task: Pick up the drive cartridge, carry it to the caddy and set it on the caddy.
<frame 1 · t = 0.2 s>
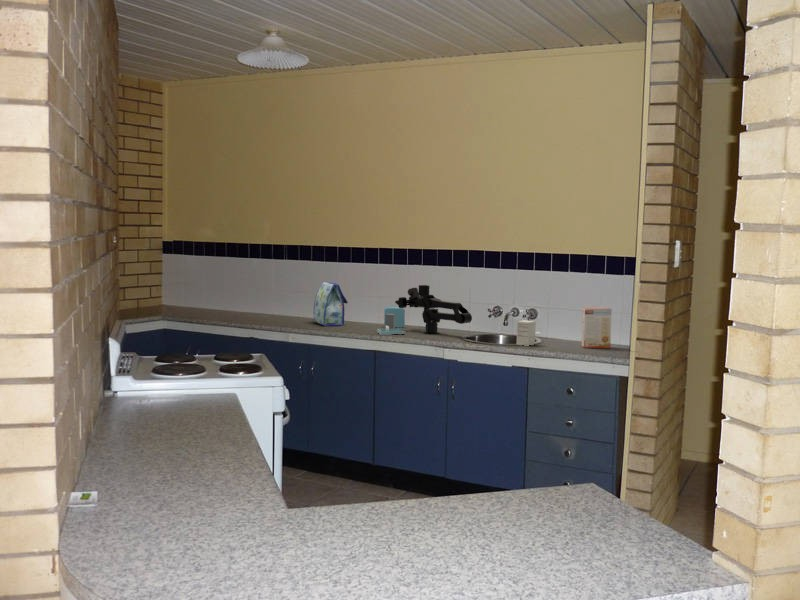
hand: (400, 301, 475), 17 cm above the counter, tool horizontal, fingers open, 9 cm apart
light blue upright piece: (394, 327, 483), on the counter
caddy: (390, 333, 452), on the counter
drive cartridge: (390, 331, 464), on the counter
cracker box: (595, 347, 413), on the counter
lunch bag: (329, 324, 493), on the counter
white drawer cabinet: (525, 345, 419), on the counter
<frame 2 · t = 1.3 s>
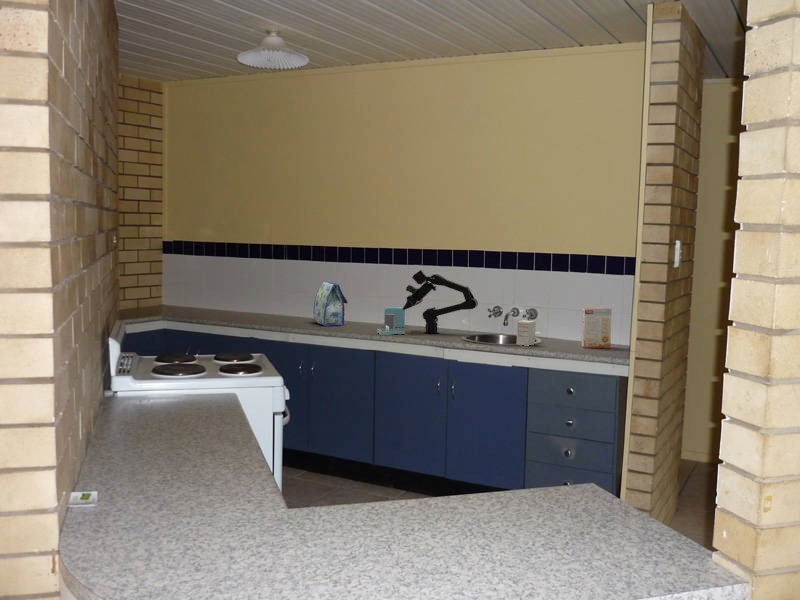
hand: (404, 308, 461), 13 cm above the counter, tool tilted 45°, fingers open, 9 cm apart
nothing on the counter moved.
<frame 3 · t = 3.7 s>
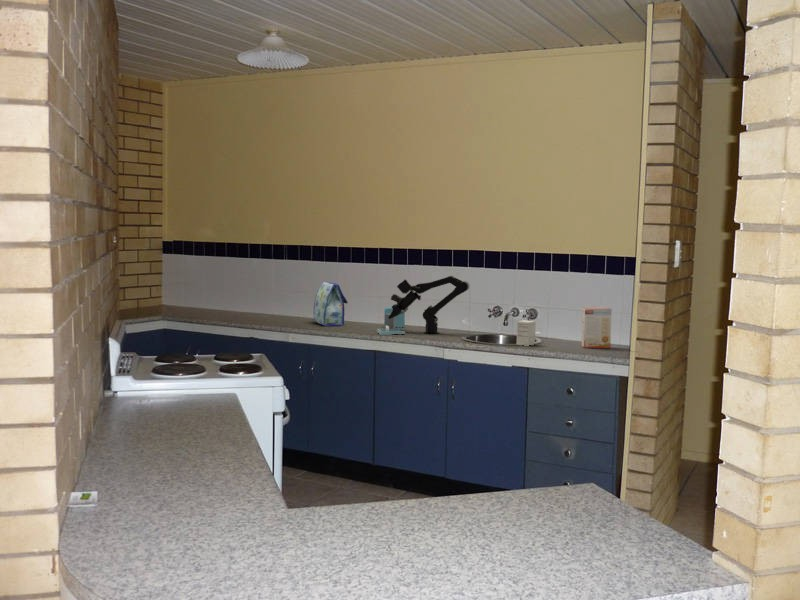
hand: (389, 317, 464), 8 cm above the counter, tool tilted 45°, fingers closed on drive cartridge, 5 cm apart
drive cartridge: (390, 331, 464), on the counter, touching gripper
everything else where it was.
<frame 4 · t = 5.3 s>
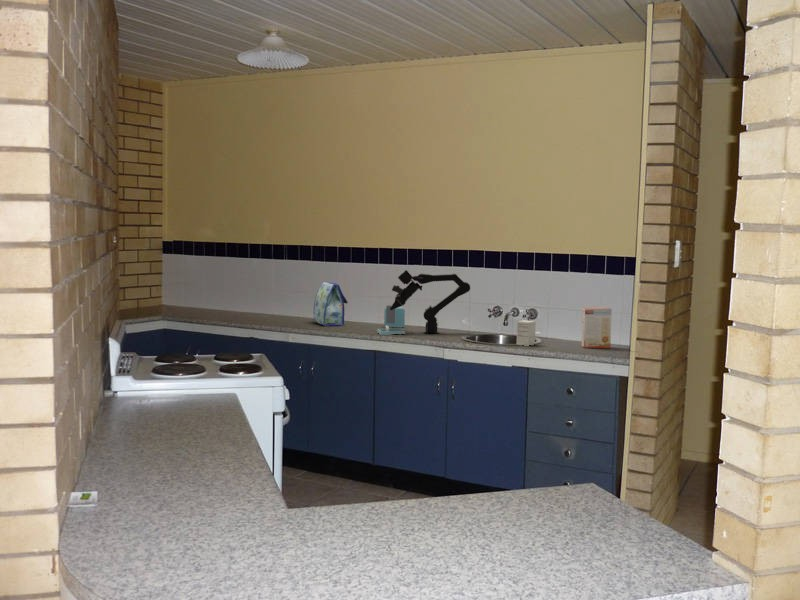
hand: (390, 309, 458), 13 cm above the counter, tool tilted 45°, fingers closed on drive cartridge, 5 cm apart
drive cartridge: (390, 322, 459), point 6 cm above the counter, touching gripper
everything else where it was.
when the fingers open (10 cm above the counter, at t = 7.0 s): drive cartridge drops 1 cm, resting on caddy.
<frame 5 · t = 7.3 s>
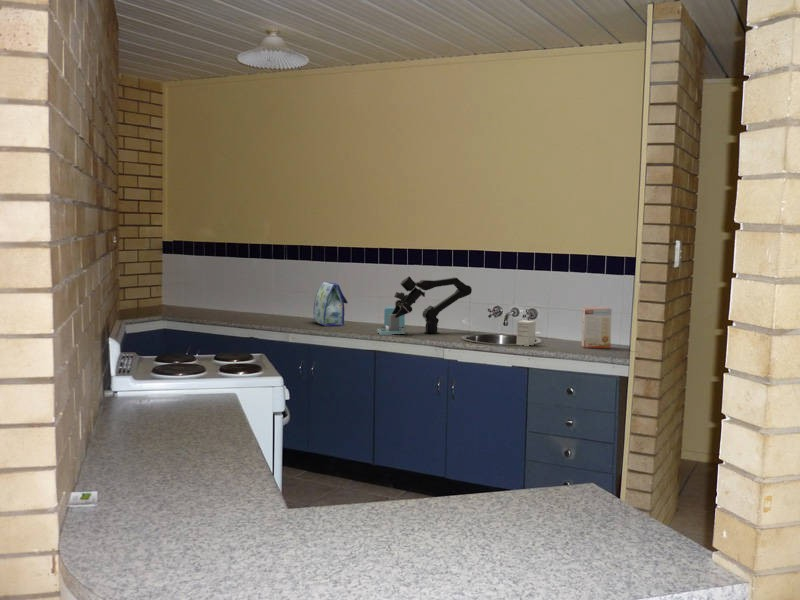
hand: (393, 316, 452), 10 cm above the counter, tool tilted 45°, fingers open, 9 cm apart
drive cartridge: (393, 332, 453), point 1 cm above the counter, touching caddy
everything else where it was.
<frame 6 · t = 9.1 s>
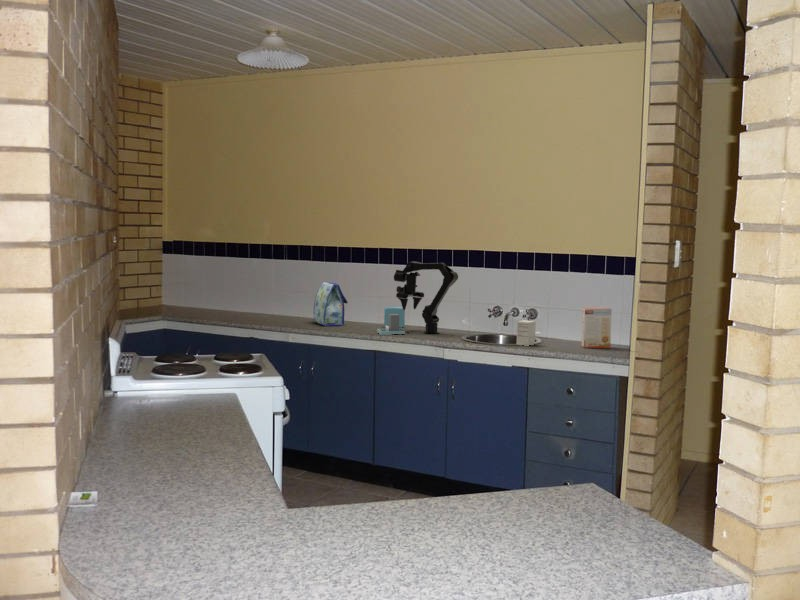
hand: (409, 309, 464), 13 cm above the counter, tool pointing down, fingers open, 9 cm apart
nothing on the counter moved.
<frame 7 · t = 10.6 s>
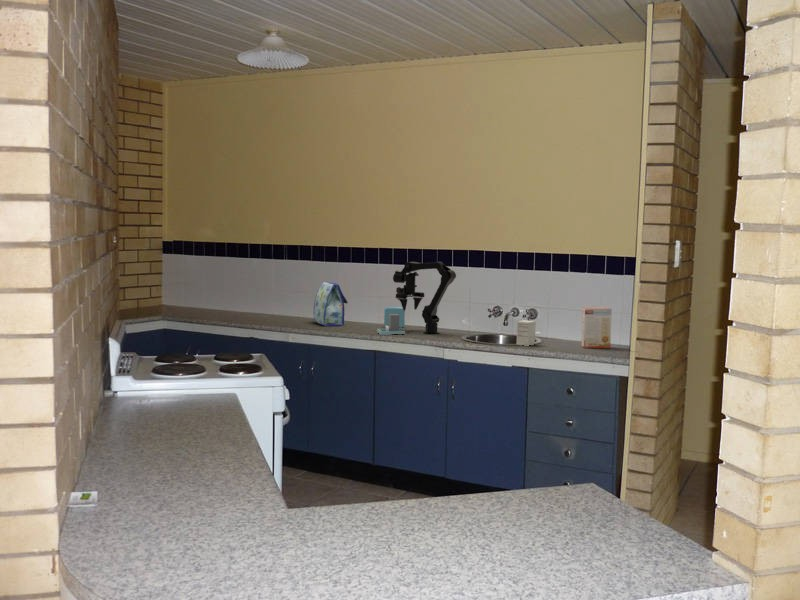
hand: (409, 310, 465), 12 cm above the counter, tool pointing down, fingers open, 9 cm apart
nothing on the counter moved.
at the end: drive cartridge inside the target area on the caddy (1.6 cm from its centre), point 1.0 cm above the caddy's base; drive cartridge tilted 0°; the gripper is holding nothing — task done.
